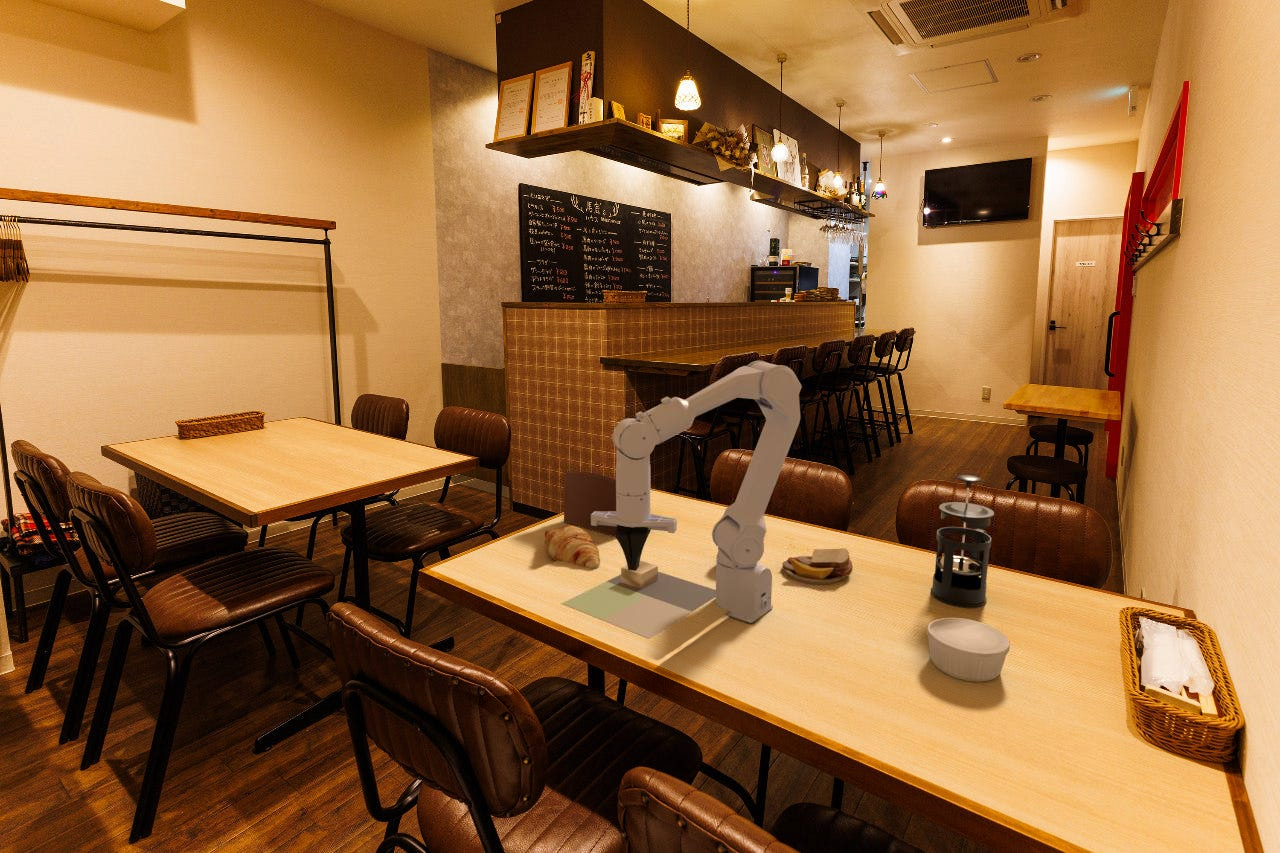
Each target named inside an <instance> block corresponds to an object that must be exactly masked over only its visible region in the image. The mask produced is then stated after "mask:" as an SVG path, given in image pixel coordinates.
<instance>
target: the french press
mask: <svg viewBox="0 0 1280 853" xmlns="http://www.w3.org/2000/svg"><path fill="white" fill-rule="evenodd" d="M956 479H957V481H962V482H965V488H966V498H965V502H961V501H959V502H958V501H952V502H951V501H950V502H943V503H941V504H940V505H939V507H938V509H939V510H940V511H941V512H940V519H941V520H943V519H945V518H946V517H948V516H952V517H956V518H959V520H961V521H963V527H959V526H947V527H941V528H939V529H937V531H936V541H937V543H936V544H937V545H936V555H935V568H934V573H933V575H932V576H933V577H932V587H931V588H930V594H931V596H932V597H933V598H934V599H935V600H937V601H939V602H941V603H944V604H946V605H950V606H953V607H956V606H957V608H963V609H965V608H966V609H975V608H980V607H984V606H985V605H986V604H985V603H987V597H986V596H987V595H986V594H987V588H988V587H987V586H988V584H987V579H988V567H989V559H990V558H989V557H990V548H991V547H992V546H991V545H992V537H991V535H989V534H988V531H986V530H984V528H989V527H990V525H991V521H992V520H991V519H992V518H993V517H994V516H995V511H993V509H991V508H989V507H986V506H983V505H980V504H975V503H970V502H969V497H970V496H969V494H970V489H971V488H972V483H980V482H981V483H982V481H983V479H982V478H980V477H978V476H975V475H969V474H960V475H957V476H956ZM966 525H968V526H969V527H971V528H968V527H967V526H966ZM972 528H974V529H972ZM953 534H954V535H962V540H961V542H959V541H955V540H951V539H948V538H945V535H953ZM966 536H969V537H970V543H969V542H967V543H966V542H965V538H966ZM955 550H960V551H961V552H960V555H955ZM964 551H966V552H967V551H968V552H969V555H968V556H969V557H968V556H964ZM943 552H944V553H943Z"/></svg>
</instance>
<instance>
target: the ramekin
mask: <svg viewBox="0 0 1280 853" xmlns="http://www.w3.org/2000/svg"><path fill="white" fill-rule="evenodd" d="M926 634H927V636H928V647H929V656H930V659H931V661H932V662H933V664H934V665H935V667H936V668H937V669H938V670H940V671H942V672H943V673H944V674H946V675H948V676H951V677H953V678H954V679H958V680H961V679H962V681H966V682H973V683H977V682H978V683H980V682H981V683H982V682H989V681H992V680H994V679H995V678H997V677H998V676H999V675H1000V674H1001V672H1002V670H1003V667H1004V664H1005V660H1006V657H1007V655H1008V654H1009V652H1010V644H1011V643H1010V640H1009V638H1008V637H1007V635H1005V634H1004V633H1003V632H1002V631H1000V630H999V629H997V628H995V627H993V626H992V625H989V624H987V623H983V622H981V621H977V620H974V619H970V618H962V617H942V618H939V619H938V618H937V619H934V620H933V621H930V622H929V624H928V625H927V628H926Z"/></svg>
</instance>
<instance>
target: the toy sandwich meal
mask: <svg viewBox="0 0 1280 853" xmlns="http://www.w3.org/2000/svg"><path fill="white" fill-rule="evenodd" d="M782 569H783V571H784V572H785V573H786V574H787V575H788V576H789V577H791V578H792V579H794V580H797V581H799V582H803V583H805V584H814V585H828V584H834V583H837V582H839V581H841V580H842V579H844V578H845V577H848V576H850V575H851V573H852V572H853V561H852V560H851V558H850V553H849V550H848V549H847V548H844V547H842V548H817V549H813V552H812V556H811V555H803V556H801V555H800V556H795V557H792V556H791V557H788V559H787V560H784V561H782Z"/></svg>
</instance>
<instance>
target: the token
mask: <svg viewBox="0 0 1280 853" xmlns="http://www.w3.org/2000/svg"><path fill="white" fill-rule="evenodd" d="M658 572H659V566H658V565H655V564H653V563H649V562H646V561H643V560H640V563H639V567H638V569H637V570H636V571H633V570H628V566H627V564H626V565H624V566H621V568H620V575H621V582H622V583H625V584H627V585H630V586H633V587H636V588H639V589H643V588H645V587H647V586H649V585H651V584H653V583H654V582H656V581H658Z"/></svg>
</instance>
